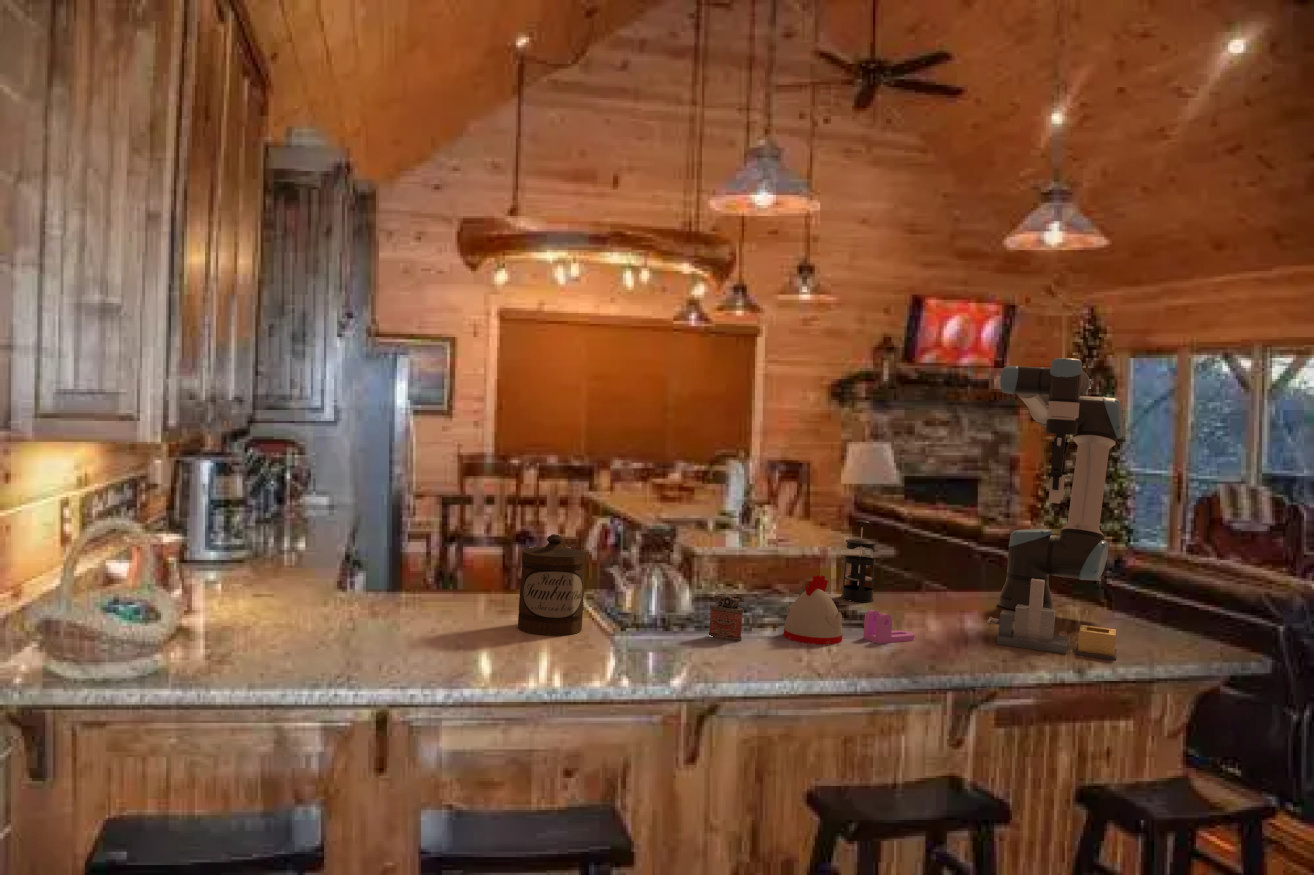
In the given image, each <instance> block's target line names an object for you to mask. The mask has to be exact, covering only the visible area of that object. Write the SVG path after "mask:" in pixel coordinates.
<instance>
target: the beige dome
mask: <svg viewBox="0 0 1314 875" xmlns="http://www.w3.org/2000/svg"><path fill="white" fill-rule="evenodd" d="M828 583H829V580H827V579H826V576H825V575H813V576H812V580H809V581H808V586H805V587H804V588H805V591H804V592H802V593H801V594H800V595H799V596H798V597H797V598H796V599H795V600H794V602H793V604H792V605H791V606H788V607H787V616H786V619H785V622H784V626H783V637H784V636H785V637H784V638H786V639H788V640H790V641H794V642H798V643H804V644H809V645H810V644H811V645H821V646H822V645H825V646H826V645H836V644H840V643H842V641H843V636H844V635H843V625H842V624H843V615H842V613H841V612H839V610H838V608H837V606H836V604H835V602H834V601H833V599H832V598H831V596H830V595H829V594H828V593H826V589H827V586H828Z"/></svg>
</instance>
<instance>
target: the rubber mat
mask: <svg viewBox="0 0 1314 875" xmlns="http://www.w3.org/2000/svg"><path fill="white" fill-rule="evenodd" d="M1078 645H1079V643H1076V649H1075V655H1077V656H1083V657H1088V658H1089V657H1090V658H1096V659H1103V660H1111V661H1112V660H1113V661H1116V660H1117V648H1115V651H1114V656H1109V655H1102V654H1095V653H1088V652H1080V651H1078Z"/></svg>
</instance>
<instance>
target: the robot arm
mask: <svg viewBox="0 0 1314 875" xmlns="http://www.w3.org/2000/svg"><path fill="white" fill-rule="evenodd" d="M1050 364H1051V365H1050V367H1045V366H1044V367H1043V366H1042V367H1041V366H1021V365H1008V366H1005V367H1003V368H1002V370H1001V373H1000V378H999V379H1000V380H999V382H1000V383H999V386H1000V387H999V388H1000V390H1001V392H1002V393H1004V394H1007V395H1008V394H1009V395H1017V396H1018V397H1019V398H1020V400H1021V401H1022V402H1023V403H1024V404H1025V405H1026V407H1027V408H1028V409H1029V414H1030V416H1031V418H1032V419H1033V420H1034V421H1035V422H1036V423H1037V424H1038V425H1040V426H1041V427H1044V428H1045V433H1047V434H1053V435H1055V437H1054V438H1053V440H1052V441H1051V456H1052V460H1051V469H1050V471H1049V472H1048V473H1047V477H1050V482H1049V493H1048V503H1051V504H1061V501H1063V500H1064V493H1065V492H1064V490H1065V480H1066V479H1065V478H1066V476H1067V475H1068V473H1069V472H1068V470H1066V463H1067V462H1066V460H1067V458H1066V457H1067V456H1068V450H1069V446H1070V441H1068V438H1067V435H1069V436H1070V435H1071V436H1073V438H1072V439H1073V441H1074V443H1075V444H1076V445H1077V450H1076V458H1075V466H1074V474H1073V482H1072V486H1071V487H1072V488H1071V496H1070V497H1071V498H1070V502H1069V503H1070V504H1069V511H1068V516H1067V517H1068V518H1067V524H1066V525H1065V526H1063V527H1062V528H1061V529H1060V535H1057V534H1054V532H1053V530H1052V529H1049V528H1048V529H1047V528H1029V529H1017V530H1013V531H1012V532H1011V533H1010V536H1009V542H1008V543H1009V544H1008V546H1007V547H1008V553H1007V554H1008V555H1007V556H1008V557H1007V566H1006V567H1007V570H1006V580H1005V583H1004V585H1003V586H1002V590H1001V592H1000V593H999V596H998V606H1000V607H1002V608H1005V609H1008V610H1012V611H1015V609H1016V606H1017V604H1019V605H1027V606H1029V599H1030V586H1031V579H1040V580H1045V583H1044V596H1043V608H1050V609H1054V602H1053V601H1054V600H1053V598H1052V597H1053V596H1052V594H1051V589H1050V586H1049V577H1050V576H1055V577H1062V578H1069V579H1077V580H1081V581H1084V580H1085V581H1097V580H1098V579H1099V578H1100V577H1101V576H1102V575H1103V572H1104V570H1105V568H1106V564H1107V560H1108V555H1109V542H1108V541H1106V540H1104V539H1105V534H1104V533H1103V532H1102V531H1101V530H1100V525H1101V524H1100V523H1101V515H1102V507H1103V501H1104V493H1105V486H1106V478H1107V469H1108V461H1109V460H1108V459H1109V455H1110V454H1109V453H1110V449H1112V448H1113V447H1114V446H1115V445H1116V443H1117V439H1122V438H1123V436H1124V415H1123V414H1124V413H1123V408H1122V403H1121V402H1120V400H1119V399H1118V398H1115V397H1106V396H1086V395H1085V394H1086V393H1087V392H1088V390H1089V389H1090V386H1091V380H1090V377H1089V375H1088V374H1087V373H1086V371H1083V362H1082V360H1081V359H1080V358H1079V359H1077V358H1065V357H1064V358H1062V357H1060V358H1059V357H1058V358H1053V359H1052V360H1051V362H1050ZM1084 395H1085V396H1084Z"/></svg>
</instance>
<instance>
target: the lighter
mask: <svg viewBox="0 0 1314 875" xmlns="http://www.w3.org/2000/svg"><path fill="white" fill-rule="evenodd" d="M713 601H715V602H718V604H717V603H713V604H710V608H709V609H710V614H709V615H710V616H709V632H708V634H709V635H711V636H713V638H712V639H715V640H720V641H727V642H735V643H738V642H742V624H743V613H744V608H742V607H738V606H739V604H740V598H734V597H733V596H732V595H728V596H725V595H721V594H719V595H718V594H715V595H713Z"/></svg>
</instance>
